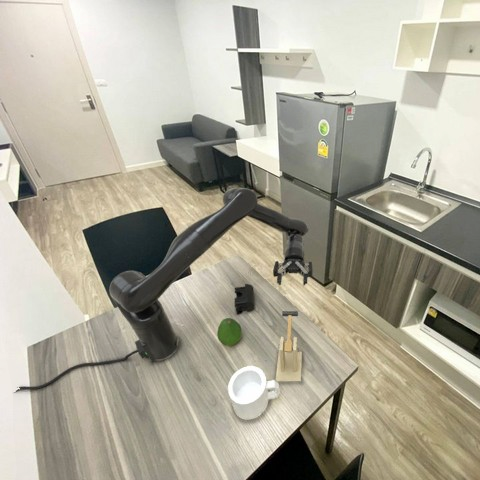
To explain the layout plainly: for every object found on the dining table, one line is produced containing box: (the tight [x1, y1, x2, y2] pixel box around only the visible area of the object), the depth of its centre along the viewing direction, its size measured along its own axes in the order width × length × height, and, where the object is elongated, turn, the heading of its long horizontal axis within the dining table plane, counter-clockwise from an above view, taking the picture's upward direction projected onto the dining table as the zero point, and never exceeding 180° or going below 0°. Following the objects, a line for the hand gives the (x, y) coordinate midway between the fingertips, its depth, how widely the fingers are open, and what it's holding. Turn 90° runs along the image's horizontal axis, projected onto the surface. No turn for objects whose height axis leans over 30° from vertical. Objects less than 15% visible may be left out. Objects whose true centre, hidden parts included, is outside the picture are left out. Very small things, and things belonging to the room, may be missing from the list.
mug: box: [227, 365, 281, 421], centre depth 76 cm, size 14×10×11 cm
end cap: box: [234, 283, 255, 315], centre depth 106 cm, size 10×7×7 cm
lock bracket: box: [274, 336, 303, 382], centre depth 83 cm, size 10×8×14 cm
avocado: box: [216, 317, 243, 347], centre depth 91 cm, size 8×8×12 cm
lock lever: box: [281, 310, 299, 352], centre depth 83 cm, size 12×5×2 cm, turn 2°
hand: (292, 283), depth 92 cm, fingers open, 8 cm apart
